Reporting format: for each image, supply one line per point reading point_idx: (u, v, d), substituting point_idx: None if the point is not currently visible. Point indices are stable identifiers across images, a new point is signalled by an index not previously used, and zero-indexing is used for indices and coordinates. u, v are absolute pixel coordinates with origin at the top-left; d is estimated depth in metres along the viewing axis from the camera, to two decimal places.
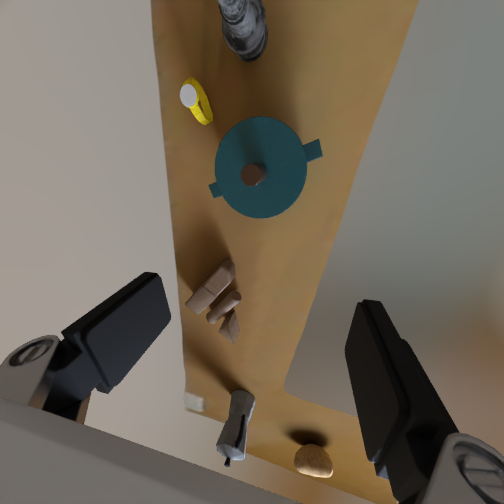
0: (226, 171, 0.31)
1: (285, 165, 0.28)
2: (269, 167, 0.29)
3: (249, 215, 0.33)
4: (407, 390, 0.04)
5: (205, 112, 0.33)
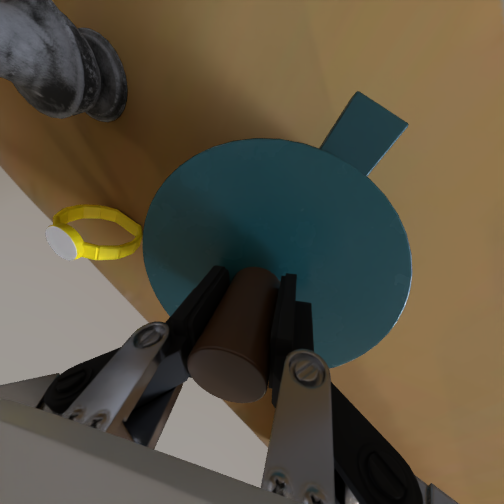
0: None
1: (308, 233, 0.09)
2: (273, 263, 0.10)
3: None
4: (279, 325, 0.06)
5: (130, 230, 0.19)
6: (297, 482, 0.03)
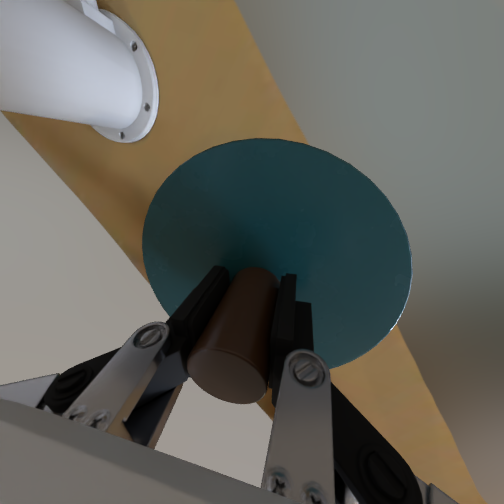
0: None
1: (308, 234, 0.09)
2: (273, 264, 0.10)
3: None
4: (279, 325, 0.06)
5: None
6: (297, 482, 0.03)
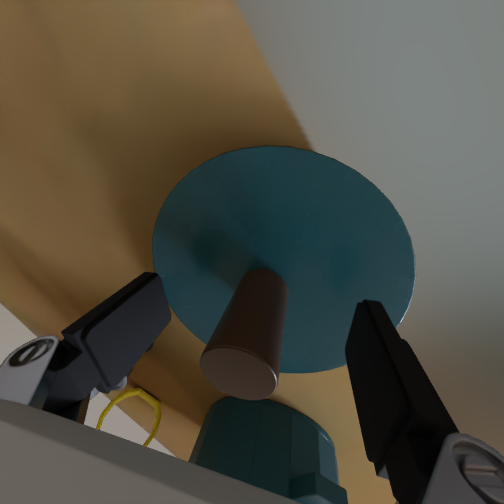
0: (204, 319, 0.13)
1: (314, 237, 0.09)
2: (280, 266, 0.10)
3: (308, 370, 0.13)
4: (407, 390, 0.04)
5: (150, 404, 0.23)
6: None
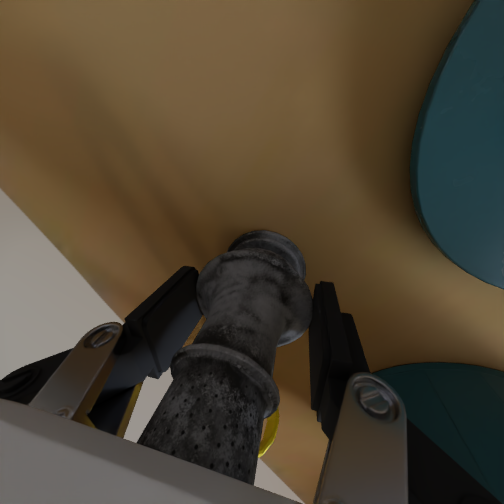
0: (489, 204, 0.07)
1: None
2: None
3: None
4: (331, 344, 0.06)
5: None
6: None
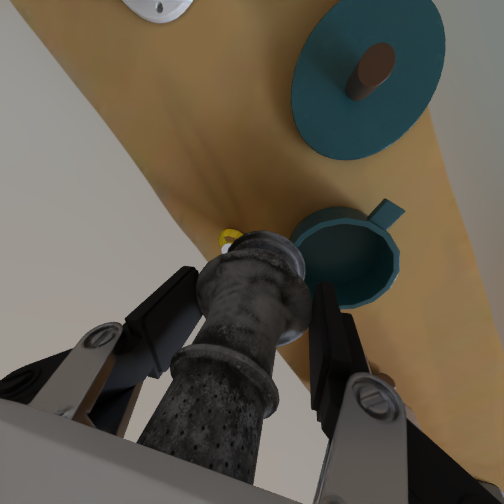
0: (316, 123, 0.23)
1: (395, 37, 0.18)
2: None
3: (378, 149, 0.22)
4: (331, 344, 0.06)
5: None
6: None
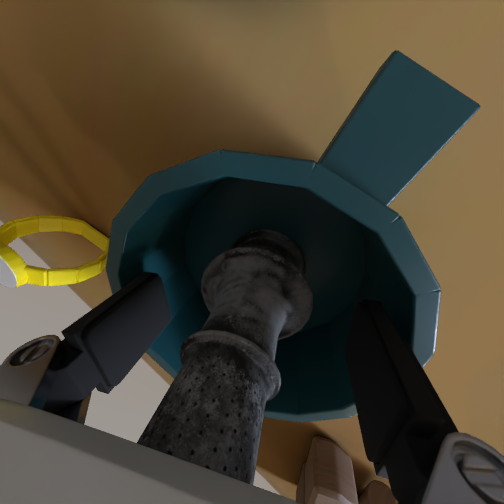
0: None
1: None
2: None
3: None
4: (406, 390, 0.04)
5: (99, 245, 0.16)
6: None
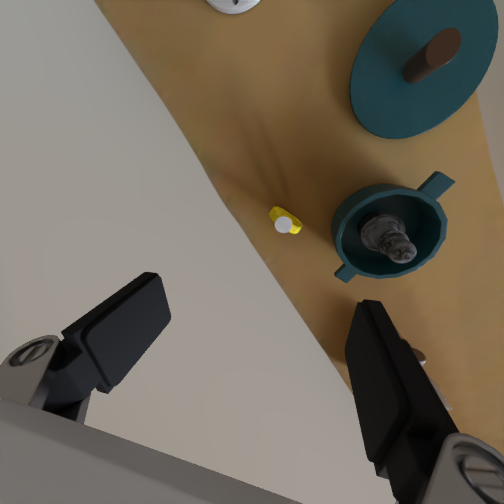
0: (371, 104, 0.25)
1: (453, 25, 0.21)
2: None
3: (427, 128, 0.25)
4: (407, 390, 0.04)
5: None
6: None
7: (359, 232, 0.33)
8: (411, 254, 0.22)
